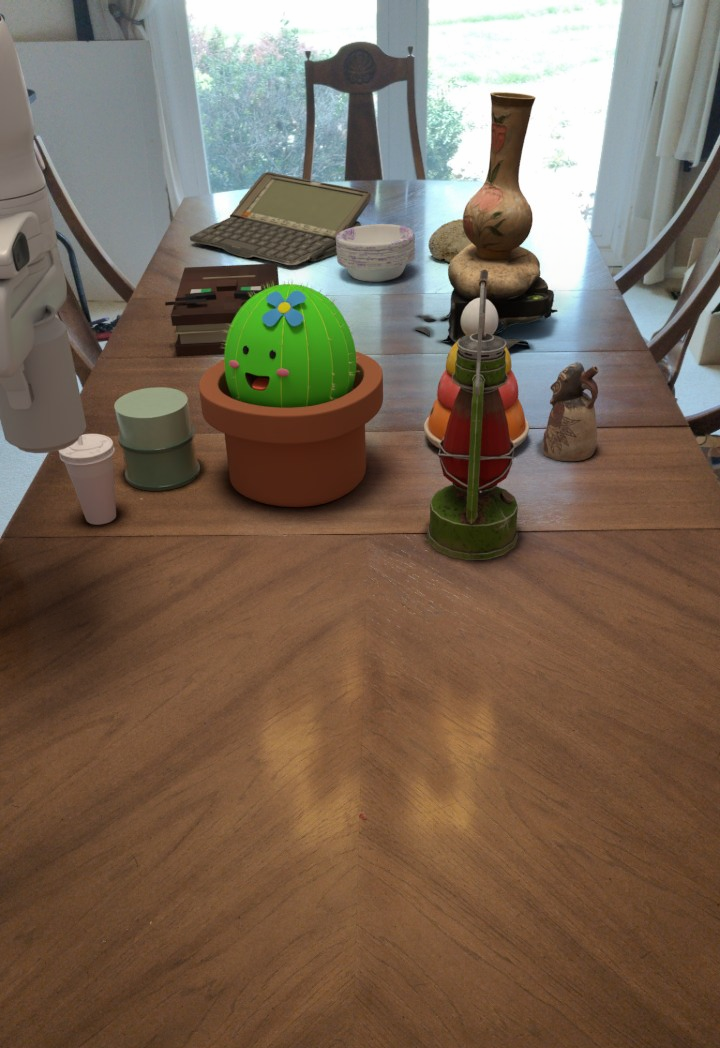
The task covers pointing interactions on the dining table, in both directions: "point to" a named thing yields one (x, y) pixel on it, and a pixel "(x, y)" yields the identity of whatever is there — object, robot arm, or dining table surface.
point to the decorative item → (448, 240)
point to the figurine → (572, 415)
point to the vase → (500, 232)
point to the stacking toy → (449, 390)
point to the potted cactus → (292, 399)
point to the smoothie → (92, 476)
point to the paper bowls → (375, 251)
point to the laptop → (287, 220)
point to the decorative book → (214, 303)
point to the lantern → (476, 454)
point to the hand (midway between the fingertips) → (35, 386)
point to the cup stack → (157, 438)
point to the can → (46, 394)
